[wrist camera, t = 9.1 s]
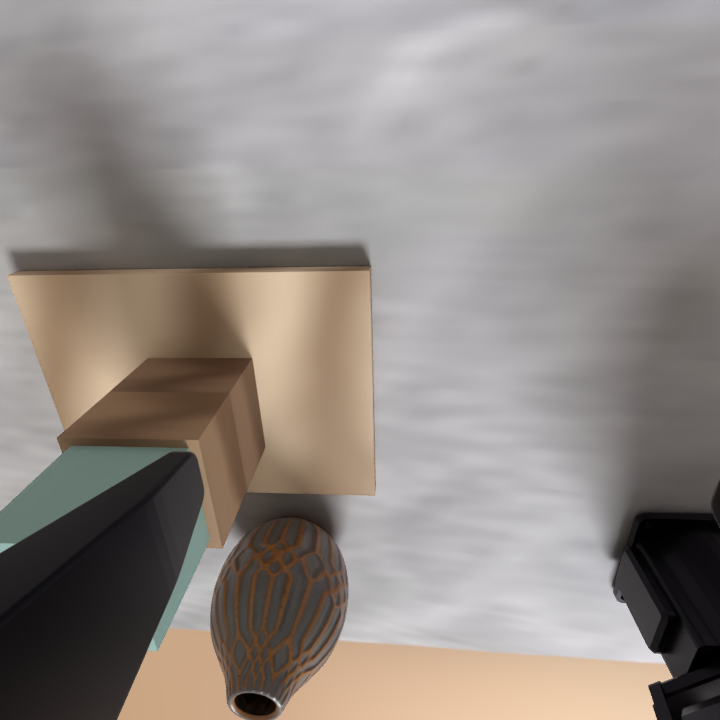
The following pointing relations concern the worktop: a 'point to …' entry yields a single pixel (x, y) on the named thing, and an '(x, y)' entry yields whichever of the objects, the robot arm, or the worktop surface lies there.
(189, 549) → the cube
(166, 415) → the tower top
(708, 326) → the worktop surface
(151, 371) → the tower base
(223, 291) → the beech board
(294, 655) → the vase
